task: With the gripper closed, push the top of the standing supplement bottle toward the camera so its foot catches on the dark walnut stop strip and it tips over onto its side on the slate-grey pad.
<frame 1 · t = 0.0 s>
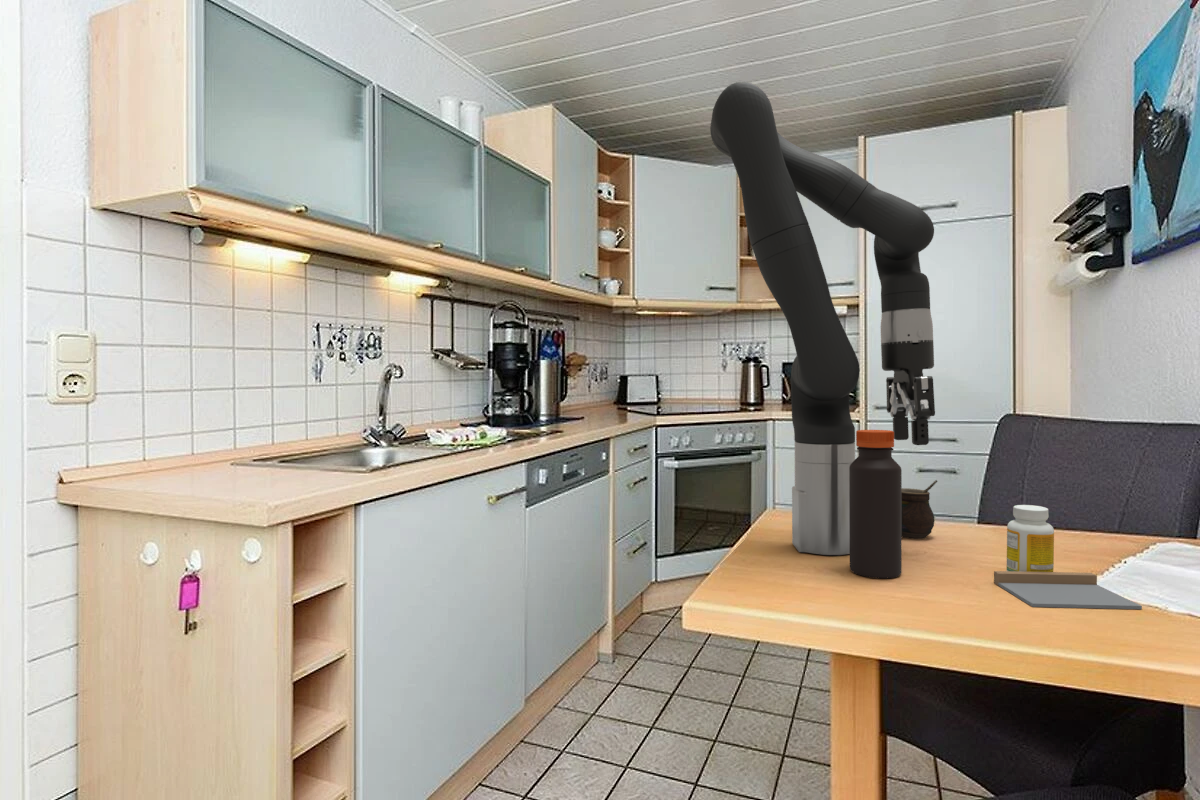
hand: (910, 442, 105), 17 cm above the table, tool pointing down, fingers open, 8 cm apart
mate gourd: (912, 537, 115), on the table
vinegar: (875, 573, 93), on the table
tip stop: (1064, 596, 82), on the table
supplement bottle: (1029, 578, 90), on the table
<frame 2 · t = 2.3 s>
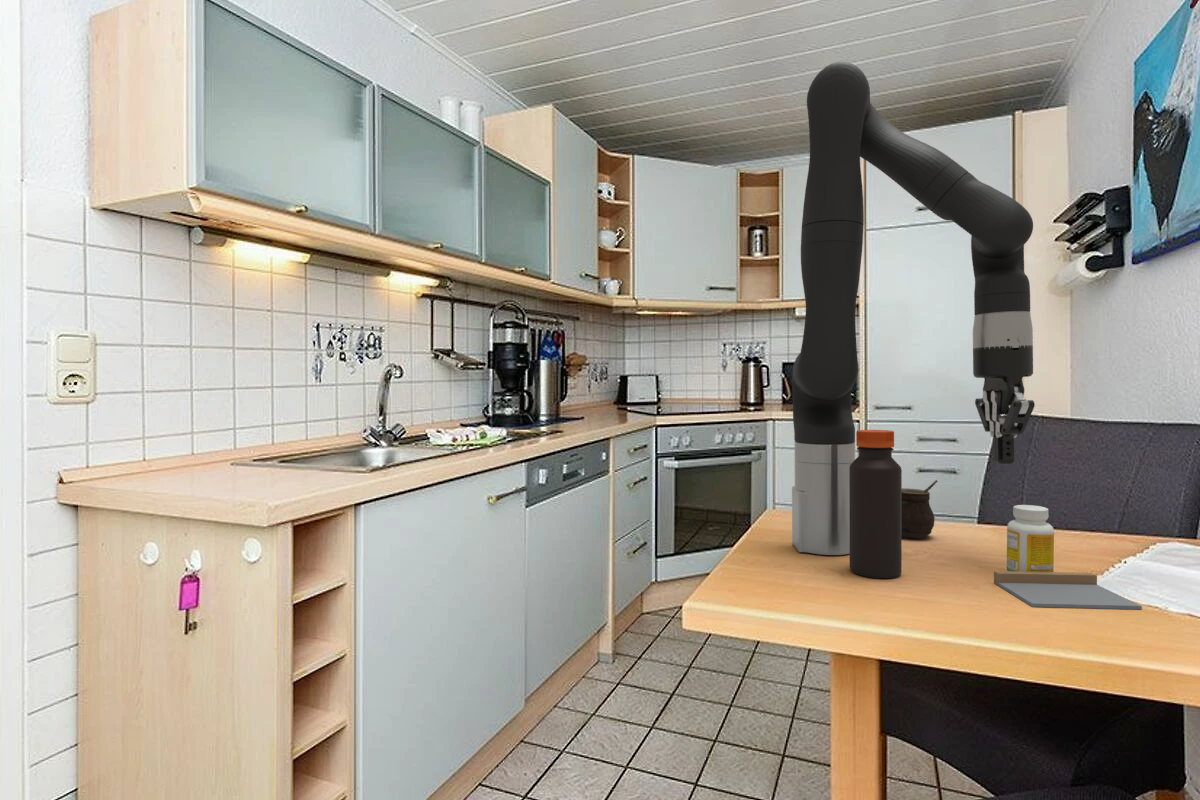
hand: (1003, 462, 97), 15 cm above the table, tool pointing down, fingers closed
nothing on the table moved.
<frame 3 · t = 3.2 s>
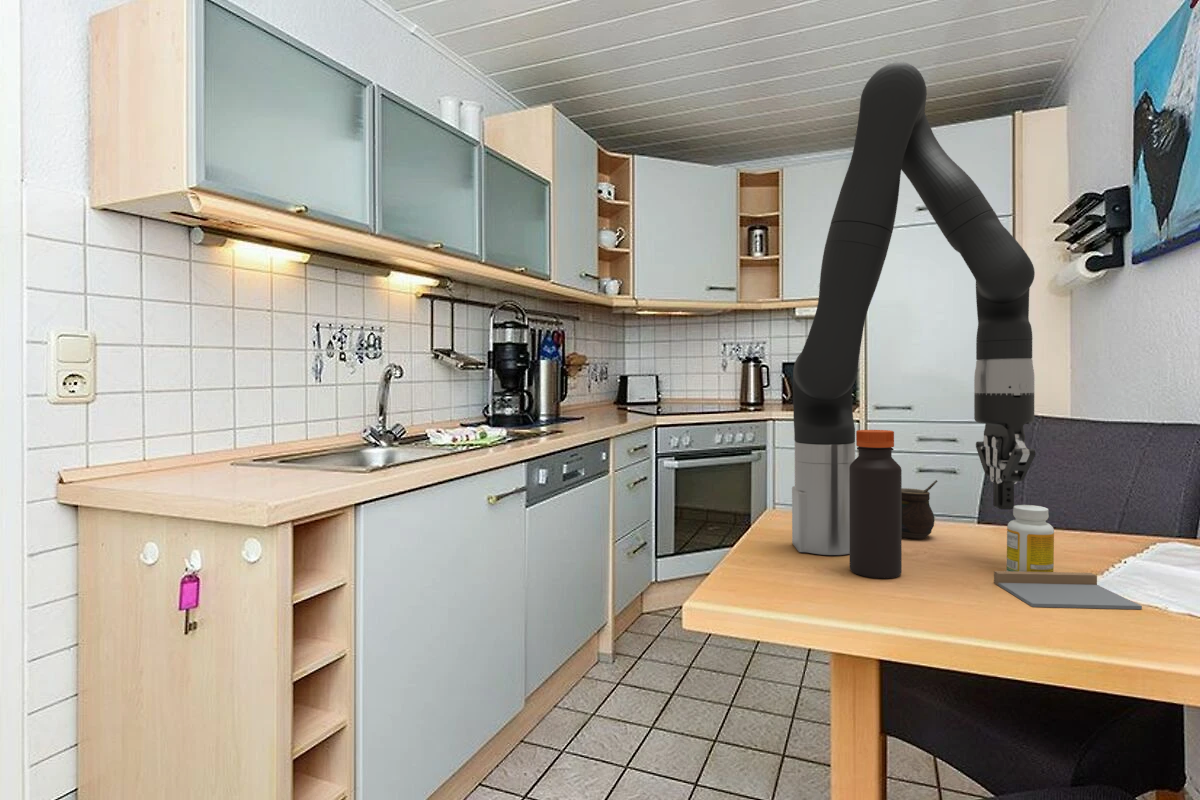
hand: (1003, 508, 97), 8 cm above the table, tool pointing down, fingers closed
nothing on the table moved.
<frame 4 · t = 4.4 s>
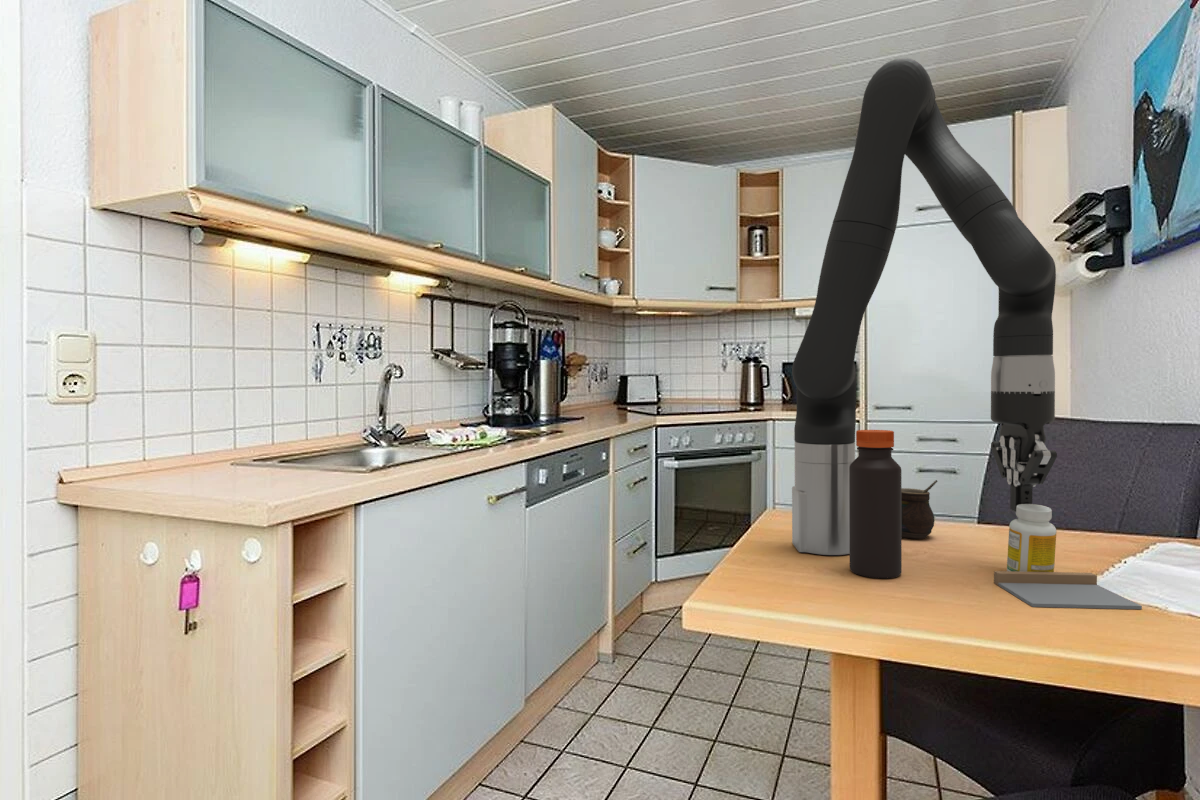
hand: (1021, 512, 93), 8 cm above the table, tool pointing down, fingers closed
supplement bottle: (1029, 577, 90), on the table, touching gripper
everything else where it was.
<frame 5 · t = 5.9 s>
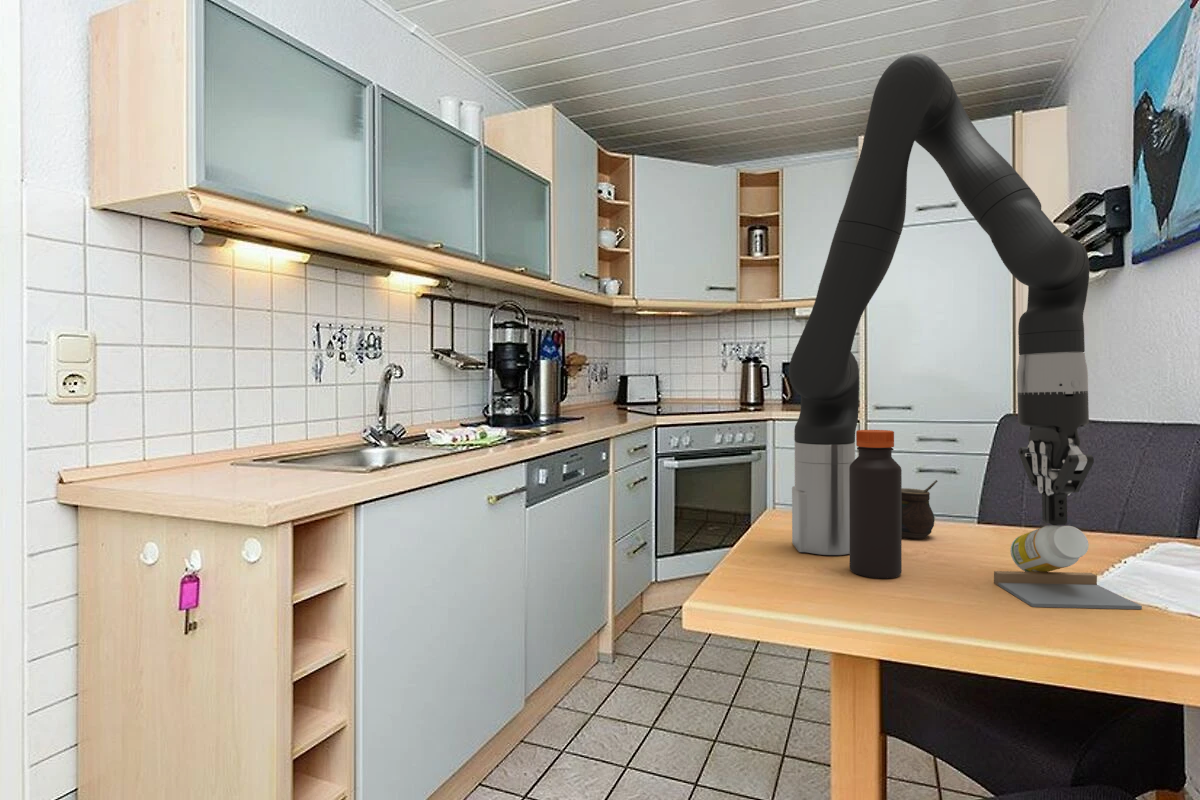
hand: (1055, 523, 85), 8 cm above the table, tool pointing down, fingers closed
supplement bottle: (1029, 555, 90), point 3 cm above the table, touching gripper, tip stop
everything else where it was.
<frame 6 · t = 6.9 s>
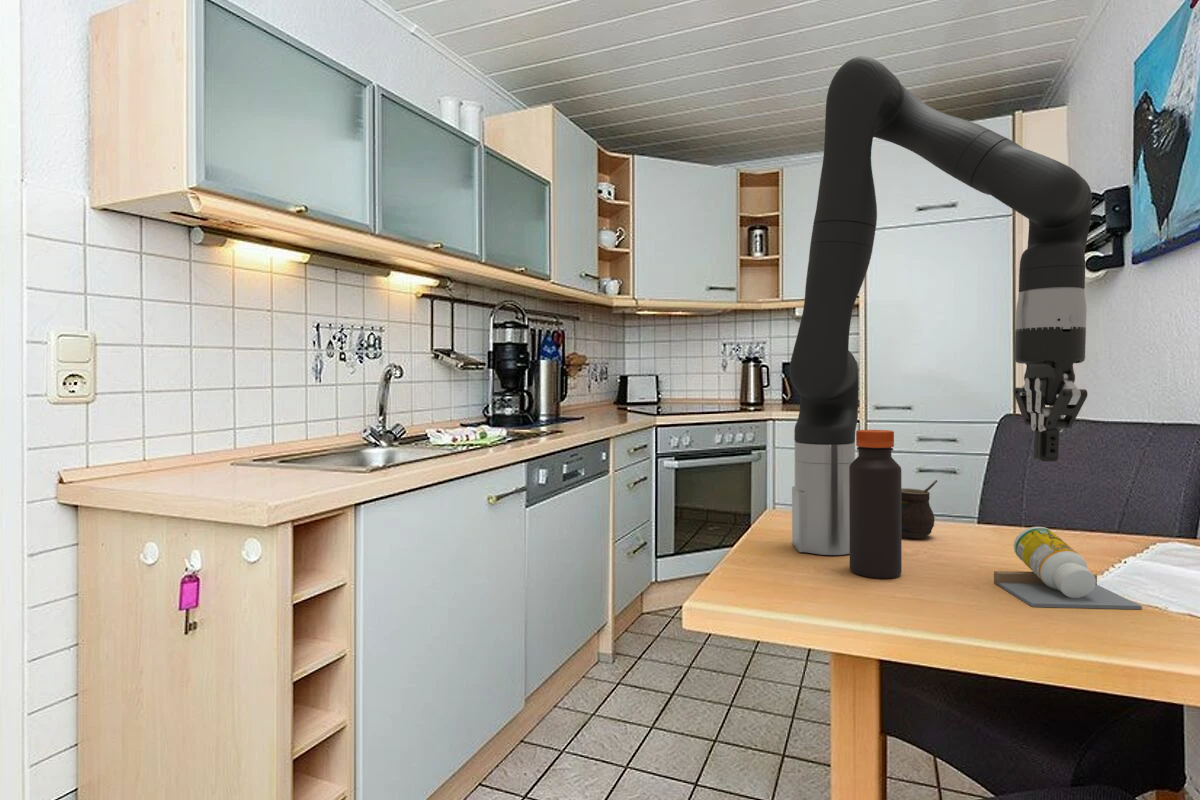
hand: (1046, 460, 86), 16 cm above the table, tool pointing down, fingers closed
supplement bottle: (1032, 542, 89), point 5 cm above the table, touching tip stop
everything else where it was.
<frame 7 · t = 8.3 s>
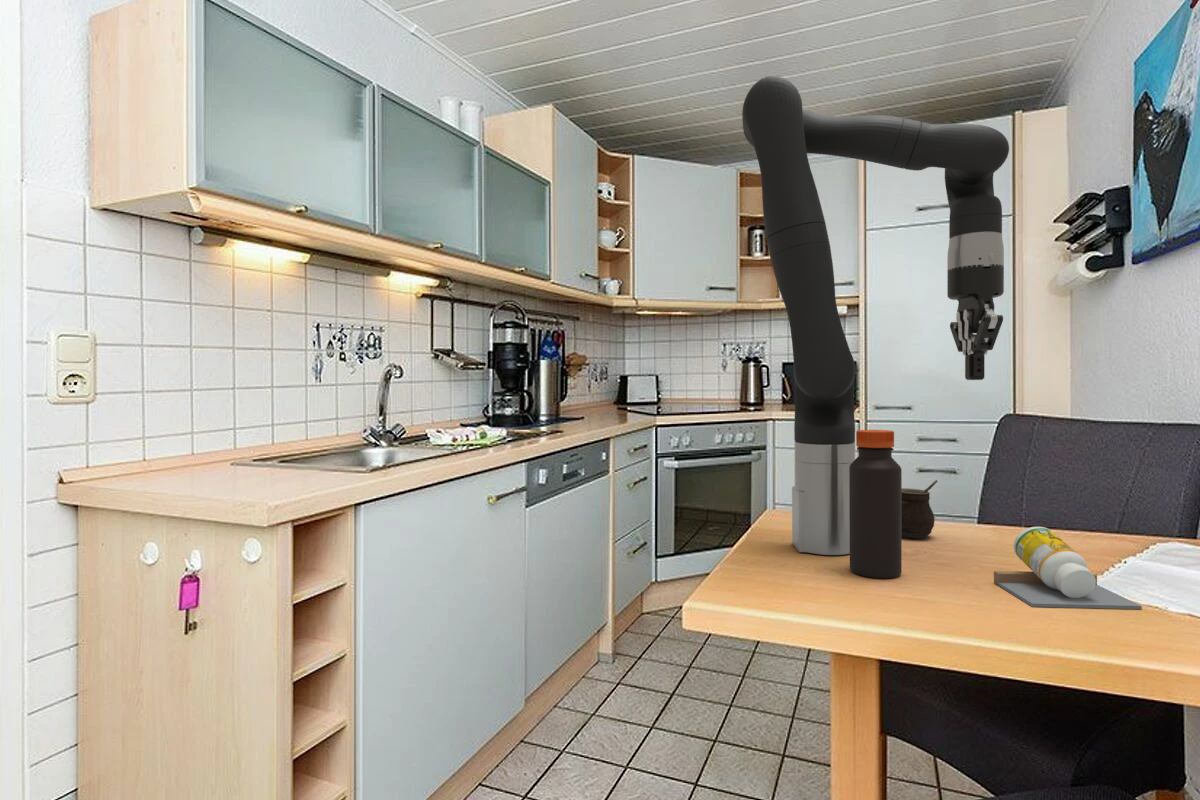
hand: (974, 379, 102), 27 cm above the table, tool pointing down, fingers closed
nothing on the table moved.
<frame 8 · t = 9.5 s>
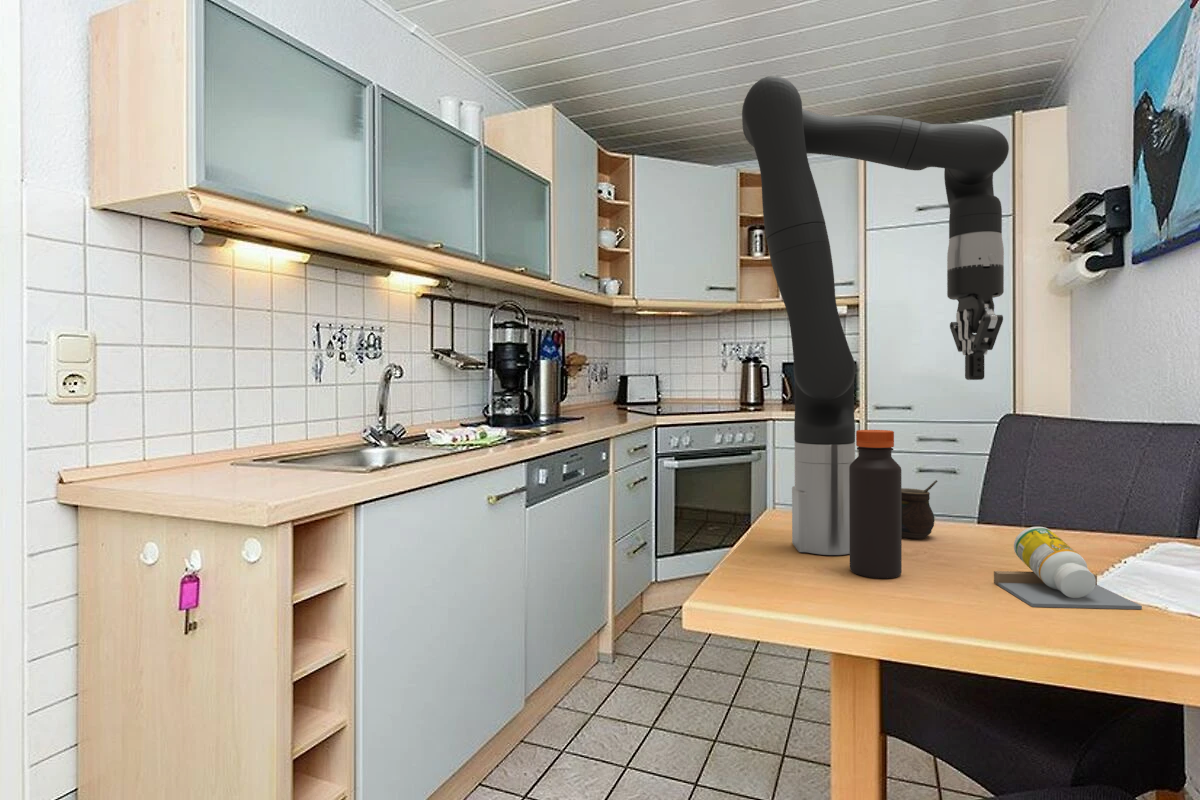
hand: (974, 379, 102), 27 cm above the table, tool pointing down, fingers closed
nothing on the table moved.
at the end: supplement bottle tilted 107°; supplement bottle inside the target area (3.7 cm from its centre), point 5.2 cm above the table; the gripper is holding nothing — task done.
